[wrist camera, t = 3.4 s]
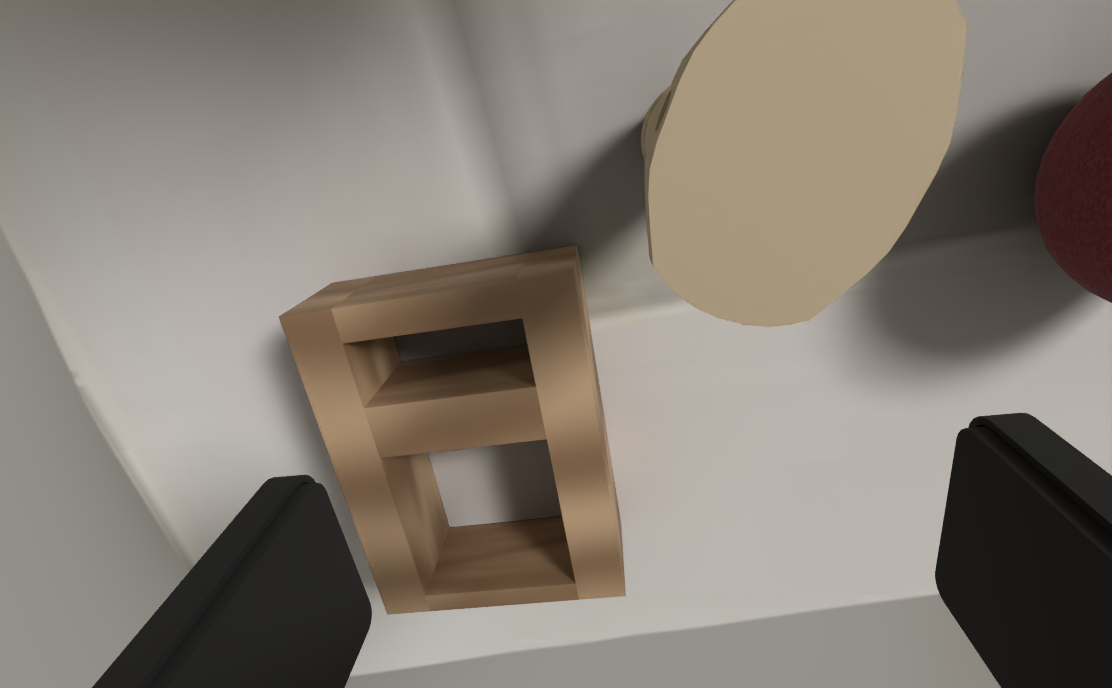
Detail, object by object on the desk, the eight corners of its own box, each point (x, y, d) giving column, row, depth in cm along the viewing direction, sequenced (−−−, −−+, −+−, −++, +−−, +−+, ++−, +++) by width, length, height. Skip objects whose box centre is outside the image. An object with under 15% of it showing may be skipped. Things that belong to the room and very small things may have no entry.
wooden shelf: (332, 283, 27) (278, 316, 23) (577, 245, 26) (573, 272, 21) (416, 544, 33) (387, 614, 28) (621, 525, 32) (625, 595, 27)
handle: (599, 189, 25) (605, 280, 11) (654, 32, 23) (748, -105, 9) (702, 224, 25) (832, 356, 11) (766, 73, 23) (1032, 4, 9)
